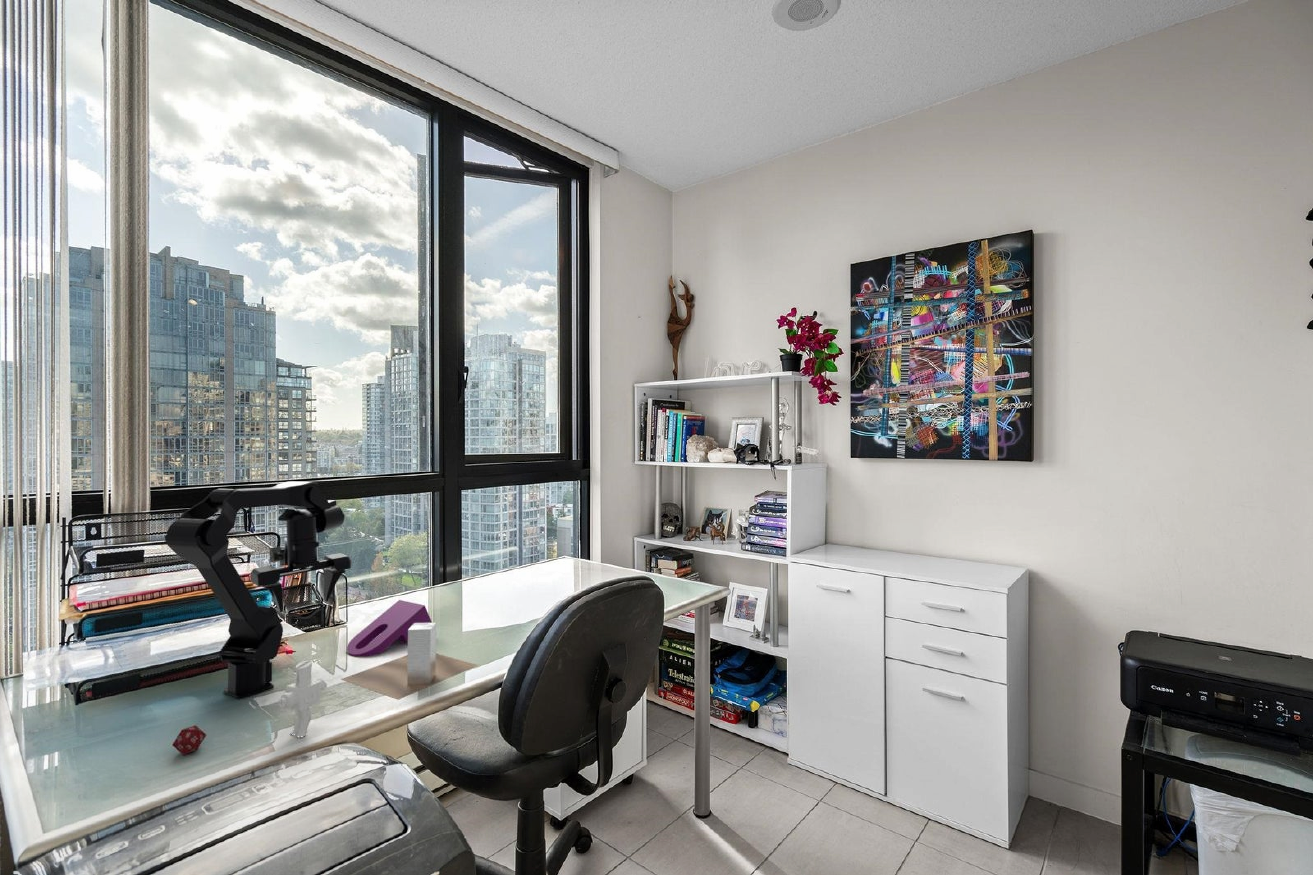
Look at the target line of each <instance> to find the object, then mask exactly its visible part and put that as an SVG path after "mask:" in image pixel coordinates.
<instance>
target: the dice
mask: <svg viewBox="0 0 1313 875" xmlns="http://www.w3.org/2000/svg"><path fill="white" fill-rule="evenodd" d="M206 737H207V733H205V732H204V731H203V730H202V729H200V728H199V727H198V726H197V725H192V726H190V727H186V728H183V729H181V730H180V732H179V733H178V735H177V736H176V737H175V739H174V741H173V742H172V747H174V748H175V750H177V751H178V752H180V754H181V755H183V756H184V755H187V754H190V753H192V752H195V751H198V749H199V747H200V746H201V744H203V741H204V739H205V738H206Z"/></svg>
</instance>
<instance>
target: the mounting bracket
mask: <svg viewBox="0 0 1313 875" xmlns="http://www.w3.org/2000/svg"><path fill="white" fill-rule="evenodd" d="M414 623H433V622H432V619H431V616H430V614H429V613H428V610H427V608H426V605H424V604H420V603H416V602H411V601H406V600H402V599H398V600H397V601H396V602H395V603H393V604H392V605H391V606H389V607H388V608H387V609H386V610H384V612H383V613H381V615H379V616H378V617H377V618H375V619H374V620H373V621H372V622H371V623H369V624H368V625H367V626H366V627H364V628H363V629H362V630H361V631H360V632H358V633H357V634H356V635H355V636H353V638H352V639H351V640H350V641H349V642H348V644H347V646H346V651H347V653H348V655H349V656H353V657H373V656H377V655H380V654H381V653H383V652H384V651H385V650H386V649H388V648H389V647H390V646H391V645H392V644H393V643H394V642H395V641H397V640H400V643H401V644H402V643H403V644H407V645H408V629H409V628H410V627H411V626H412V625H413V624H414Z"/></svg>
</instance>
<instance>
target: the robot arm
mask: <svg viewBox="0 0 1313 875" xmlns="http://www.w3.org/2000/svg"><path fill="white" fill-rule="evenodd" d="M271 506H277V507H284V508H286V509H285V510H284V512H282V513H281V514H280V515H279V517H277V521H279V522H281V521H282V522H285V523H286V526H285V527H286V541H285V544H284V548H283V549H282V547H281V546H275V547H271V548H269V560H270V563H271V565H266V566H261V567H256V568H255V567H254V568H253V569H252V570H251V571H250V575H249V576H250V583H252V584H254V585H256V586H257V587H261V588H264V589H265V590H268V592H269V593H270V595H271V597H272V599H273V601H274V604H275V605H276V608H277V610H278V611H277V610H276V608H275V607H270V606H259V605H258V603H257V602H256V600H255V598H254V597H253V595H252V593H251V591H249V589H248V587H247V585H246V583H245V582H244V580H243V578H242V576H241V575H240V574H239V572H238V570H237V568H236V567H235V565H234V564H233V562H232V561H231V559H230V557H229V555H228V554H227V553H228V549H229V544H230V539H229V538H228V534H229V532H231V530H232V529H233V528H234V527H235V525H236V521H237V515H238V513H239V511H241V509H249V508H250V509H251V508H259V507H271ZM290 508H291V509H290ZM220 510H221V511H220ZM219 511H220V514H218V516H217V517H216V518H215V519H210V518H211V517H213V516H214V515H215V514H217V513H219ZM345 516H346V515H345V514H344V511H343V510H342V508H341V507H340V506H339V505H337V500H332V499H327V498H326V496H325V493H323V492H322V490H321V488H320V486H319V483H318V482H315V481H293V480H292V481H291V480H290V481H286V482H281V483H278V484H276V485H274V486H271V487H253V488H252V487H251V488H235V489H233V488H217V489H214V490H212V491H211V492H209V494H208V495H207V496H206V497H205V498H204V499H203V500H201V501H200V502H198V503H197V504H194V505H193V506H191V507H190V508H188V509H186V511H184V512H183V513H182V514H181V515H180V516H179V517H178V518H177V520H175V521H173V522H172V523H171V524H170V525H169V527H168V529H167V531H166V534H165V535H164V542H165V543H166V545H167V547H168V548H169V549H171V551H173V553H174V554H176V556H178V557H179V558H181V559H182V560H185V561H186V562H188V563H190V564H191V565H192V566H195V567H196V569H197V570H198V572H199V573H200V575H201V576H202V578H203V580H204V581H205V583H206V585H207V586H208V588H210V590H211V592H212V593H213V595H214V596H215V598H216V599H217V601H218V602H219V604H220V605H221V607H222V608H223V610H224V611H225V613H226V615H227V616H228V618H229V620H230V621H229V626H228V631H227V632H228V634H229V636H228V638H227V640H226V641H225V643H224V644H223V646H222V647H221V649H220V650H219V652H218V656H219V659H220V661H221V662H227V687H226V688H223V690H222V691H223V693H226V694H227V695H230V696H232V697H234V698H236V699H243V698H247V697H249V696H253V695H255V694H258V693H261V692H264V691H267V690H269V689H272V688H274V687H275V684H274V683H272V681H273V661H271V660H273V659H274V658H277V656H278V653H279V648H280V644H281V642H282V638H283V634H284V633H283V632H284V627H283V625H282V622H284V620H283V619H282V618H280V617H279V615H278V612H279V613H283V612H284V599H283V598H284V597H283V596H284V595H283V585H282V583H280V580H281V578H282V577H289V576H293V575H298V574H303V573H308V572H309V573H310V572H314V571H318V570H319V571H321V570H322V572H323V576H324V582H323V600H324V601H323V602H325V603H326V602H329V600H330V598H331V595H332V594H333V591H334V589H335V586H336V585H337V583H338V581H339V579H340V578H341V576H342V575H343V574H346V570H349V569H352V559H351V557H349V555H346V554H344V553H341V552H339V553H338V552H337V553H333V554H327V555H325V556H324V557H323V560H319V559H318V548H319V547H320V542H319V541H318V540H317V539H318V537H317V534H320V533H324V532H327V531H331V530H333V529H339V527H341V526H342V525H343V523H344V521H345ZM272 563H279V565H280V566H284V567H280V568H277V567H275V566H274V565H272ZM286 566H287V567H286ZM246 649H250V650H246ZM251 649H252V650H251ZM253 650H256V651H253Z"/></svg>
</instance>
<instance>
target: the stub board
mask: <svg viewBox="0 0 1313 875" xmlns="http://www.w3.org/2000/svg"><path fill="white" fill-rule="evenodd" d="M477 666H478V664H475V663H471V662H468V661H464V660H462V659H458V658H454V657H452V656H451V657H450V656H446V655H443V654H439V653H436V665H435V676H434V678H433V679H432V681H431V683H430V684H407V667H408V654H405V655H404V656H401V657H398V658H396V659H393V660H390V661H386V662H385V663H382V664H381V663H380V664H378V665H377V666H373V667H371V668H368V669H365V670H363V671H359V672H357V673H354V674H351V675H349V676H346V677H343V678H341V680H342V681H345V682H347V683H350V684H352V685H356V686H359V687H362V688H364V689H367V690H369V691H373V692H375V693H378V694H382V695H383V696H387V697H389V698H392V699H394V700H401V699H403V698H405V697H407V696H410V695H412V694H414V693H417V692H419V691H422V690H424V689H427V688H428V687H430V686H433V685H435V684H438V683H440V682H442V681H445V680H447V679H449V678H452V677H454V676H456V675H458V674H461V673H464V672H466V671H467V670H471V669H473V668H474V667H477Z"/></svg>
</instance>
